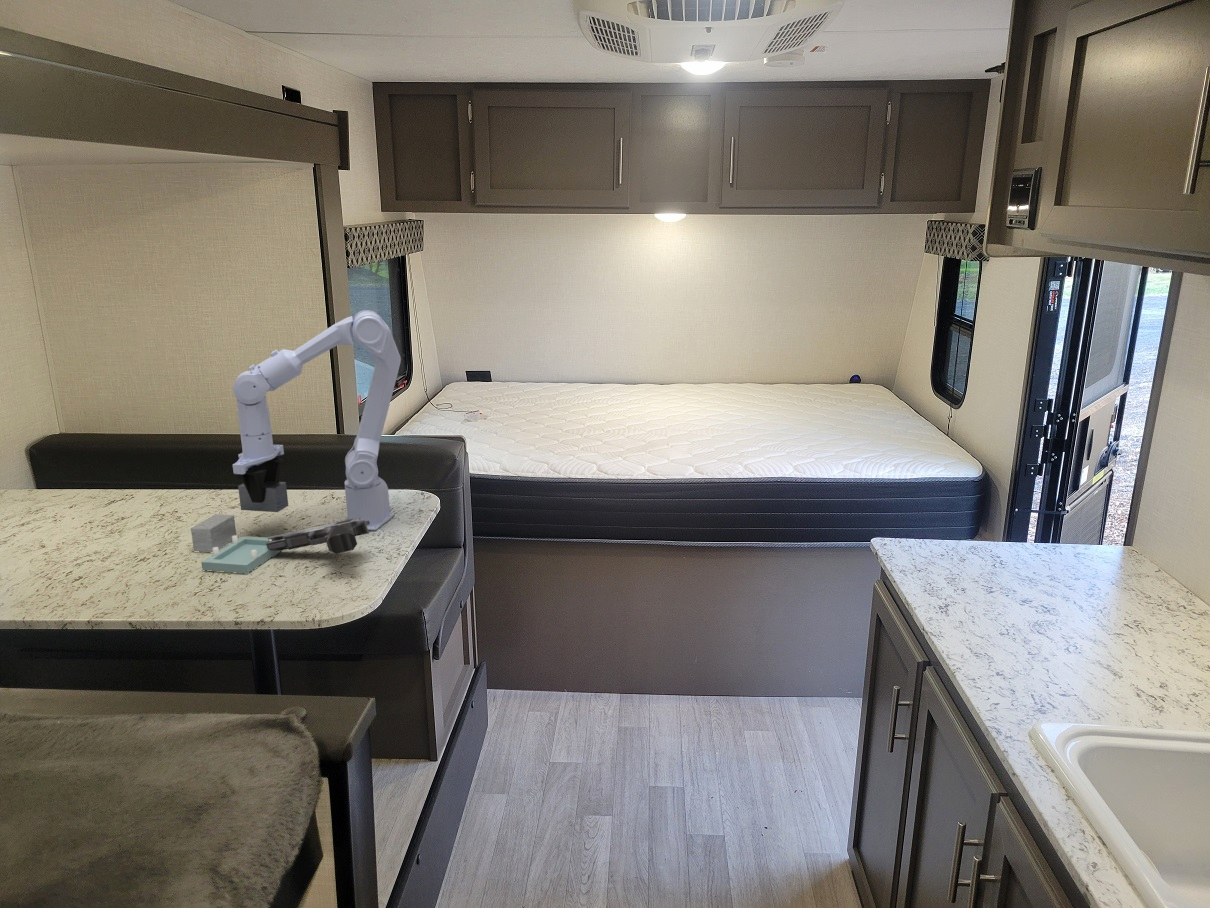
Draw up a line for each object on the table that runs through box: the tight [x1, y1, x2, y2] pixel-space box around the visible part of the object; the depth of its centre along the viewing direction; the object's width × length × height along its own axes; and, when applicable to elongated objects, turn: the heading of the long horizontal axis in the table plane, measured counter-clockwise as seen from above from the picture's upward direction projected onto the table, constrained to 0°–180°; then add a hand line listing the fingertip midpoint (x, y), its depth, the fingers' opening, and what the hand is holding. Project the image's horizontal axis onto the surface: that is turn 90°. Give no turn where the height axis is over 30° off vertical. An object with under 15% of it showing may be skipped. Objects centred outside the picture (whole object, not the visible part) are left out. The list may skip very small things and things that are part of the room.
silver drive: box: [190, 513, 237, 553], centre depth 165 cm, size 8×4×5 cm, turn 171°
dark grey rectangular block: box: [237, 481, 289, 513], centre depth 169 cm, size 8×4×5 cm, turn 80°
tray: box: [201, 534, 282, 575], centre depth 158 cm, size 13×9×3 cm
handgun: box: [266, 517, 370, 555], centre depth 154 cm, size 3×21×12 cm
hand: (264, 498), depth 169 cm, fingers closed on dark grey rectangular block, 4 cm apart
